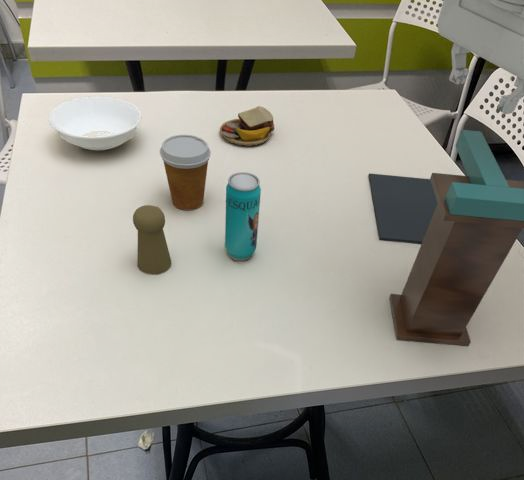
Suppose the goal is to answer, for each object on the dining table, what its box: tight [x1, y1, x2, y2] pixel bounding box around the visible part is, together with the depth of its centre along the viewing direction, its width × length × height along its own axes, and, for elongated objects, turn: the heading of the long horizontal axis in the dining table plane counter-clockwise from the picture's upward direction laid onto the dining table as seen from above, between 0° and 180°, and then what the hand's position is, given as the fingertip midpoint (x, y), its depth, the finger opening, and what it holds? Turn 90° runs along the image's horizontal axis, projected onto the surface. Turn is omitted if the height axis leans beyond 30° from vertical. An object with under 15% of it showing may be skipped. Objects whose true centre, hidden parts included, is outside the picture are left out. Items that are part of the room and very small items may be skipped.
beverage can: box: [224, 171, 262, 262], centre depth 86 cm, size 6×6×15 cm
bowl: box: [48, 95, 143, 151], centre depth 111 cm, size 20×20×6 cm
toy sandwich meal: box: [219, 105, 275, 147], centre depth 119 cm, size 12×14×5 cm
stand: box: [388, 172, 524, 347], centre depth 75 cm, size 13×10×24 cm
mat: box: [368, 172, 438, 244], centre depth 105 cm, size 16×24×1 cm, turn 177°
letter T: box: [445, 129, 524, 221], centre depth 67 cm, size 12×18×2 cm, turn 177°
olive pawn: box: [132, 204, 173, 275], centre depth 84 cm, size 6×6×11 cm
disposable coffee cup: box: [159, 134, 212, 211], centre depth 96 cm, size 10×10×12 cm
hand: (479, 96), depth 67 cm, fingers open, 8 cm apart
